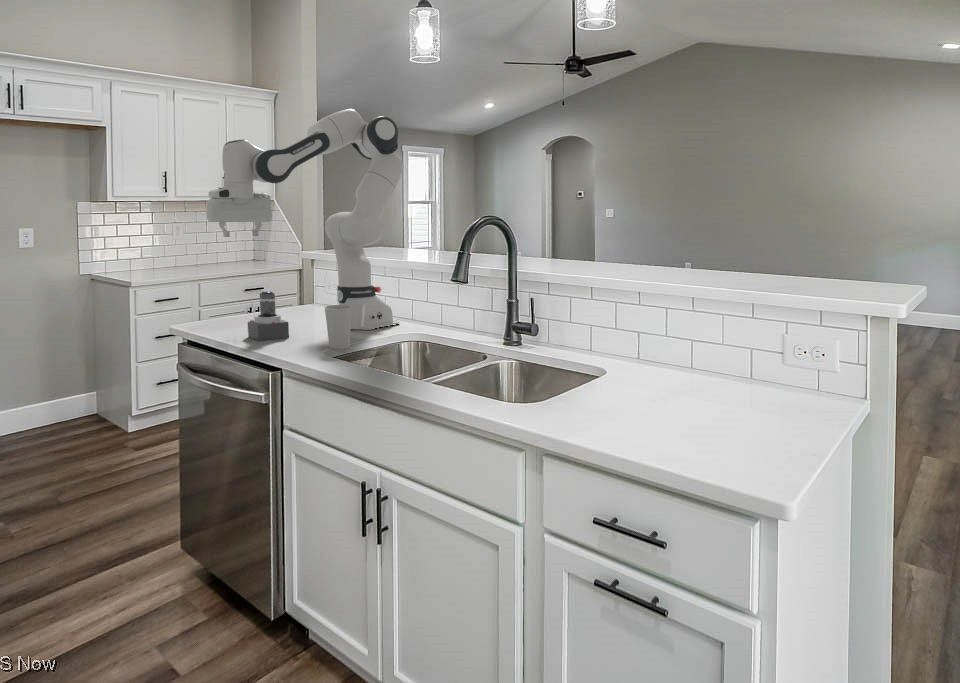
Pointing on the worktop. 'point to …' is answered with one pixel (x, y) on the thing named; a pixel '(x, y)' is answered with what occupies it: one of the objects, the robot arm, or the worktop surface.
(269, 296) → the lens
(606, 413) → the worktop surface
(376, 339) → the worktop surface
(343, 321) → the cup
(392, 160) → the robot arm
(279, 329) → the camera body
